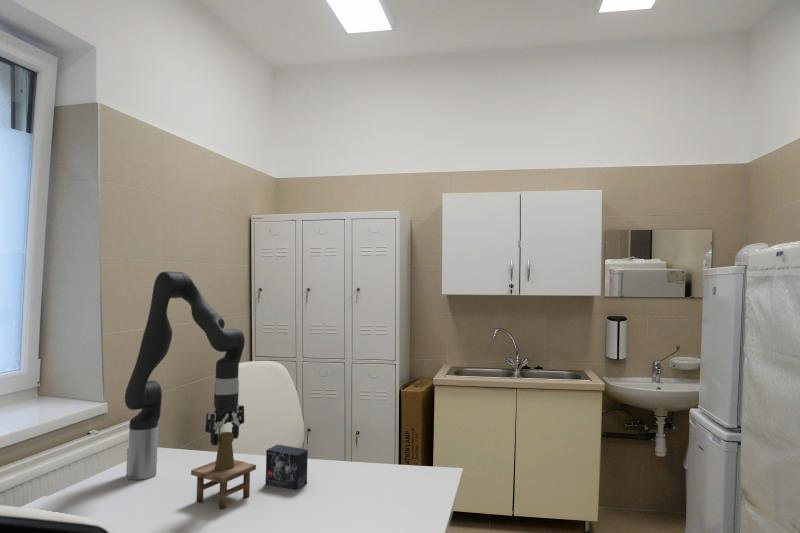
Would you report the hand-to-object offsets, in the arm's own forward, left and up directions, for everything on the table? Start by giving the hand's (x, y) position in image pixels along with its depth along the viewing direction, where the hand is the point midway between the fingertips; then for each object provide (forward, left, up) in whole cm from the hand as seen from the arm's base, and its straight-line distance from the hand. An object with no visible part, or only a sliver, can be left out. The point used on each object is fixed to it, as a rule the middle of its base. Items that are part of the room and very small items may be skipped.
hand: (224, 441), depth 170 cm
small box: (+9, +20, -19) cm, 29 cm away
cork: (0, 0, -8) cm, 8 cm away
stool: (0, 0, -18) cm, 18 cm away
